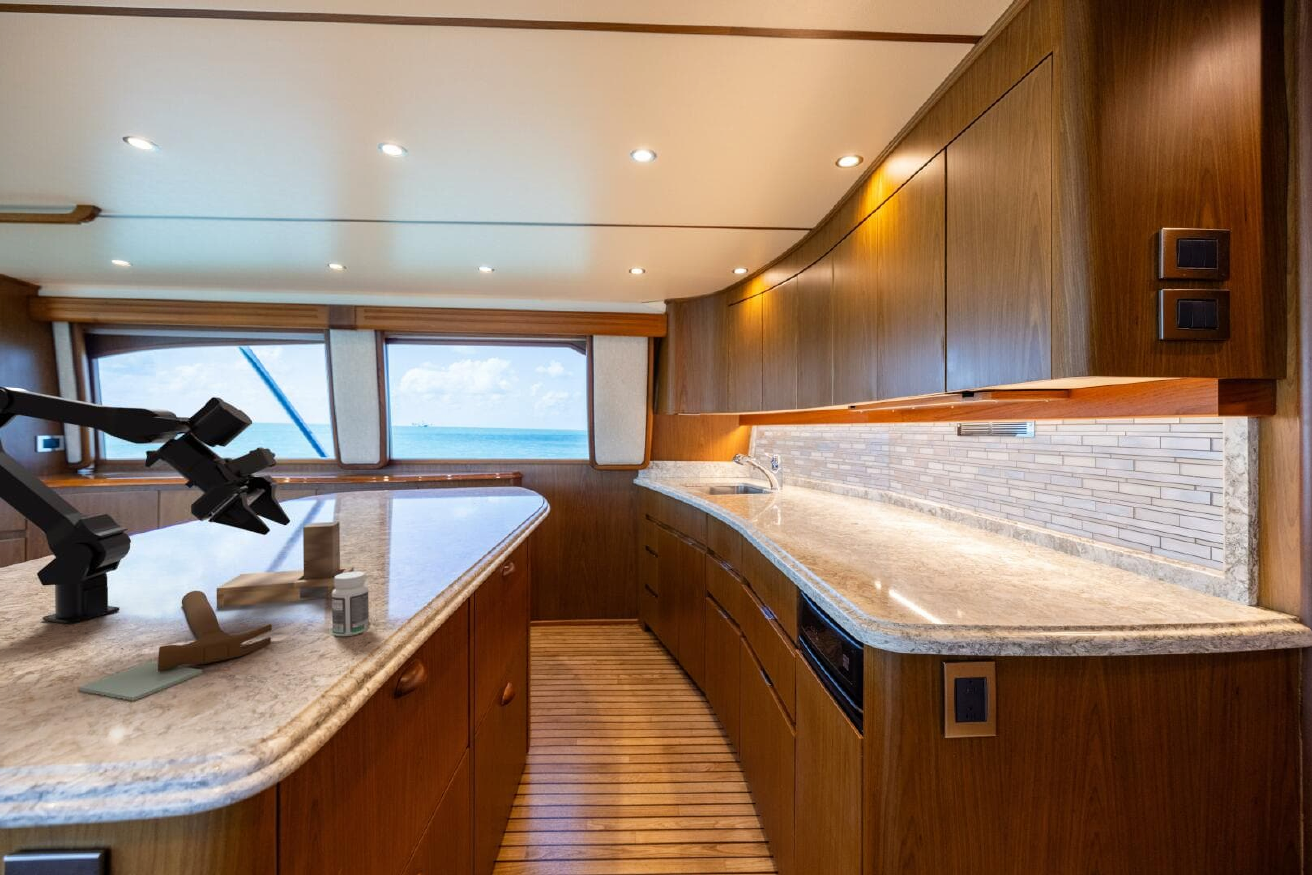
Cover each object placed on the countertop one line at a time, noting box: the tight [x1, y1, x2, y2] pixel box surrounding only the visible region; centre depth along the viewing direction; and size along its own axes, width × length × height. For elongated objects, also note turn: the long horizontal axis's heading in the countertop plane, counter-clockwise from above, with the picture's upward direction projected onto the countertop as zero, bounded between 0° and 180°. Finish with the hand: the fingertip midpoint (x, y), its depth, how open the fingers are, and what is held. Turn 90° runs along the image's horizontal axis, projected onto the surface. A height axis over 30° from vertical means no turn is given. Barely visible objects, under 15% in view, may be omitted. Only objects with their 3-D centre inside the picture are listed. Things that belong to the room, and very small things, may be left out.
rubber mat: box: [77, 661, 203, 702], centre depth 64 cm, size 9×7×1 cm
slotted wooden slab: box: [216, 566, 355, 608], centre depth 94 cm, size 18×9×4 cm, turn 107°
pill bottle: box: [331, 571, 370, 637], centre depth 79 cm, size 5×5×8 cm
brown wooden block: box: [302, 521, 341, 580], centre depth 96 cm, size 4×4×12 cm
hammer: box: [157, 590, 273, 671], centre depth 79 cm, size 12×3×30 cm
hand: (278, 527), depth 94 cm, fingers open, 9 cm apart
